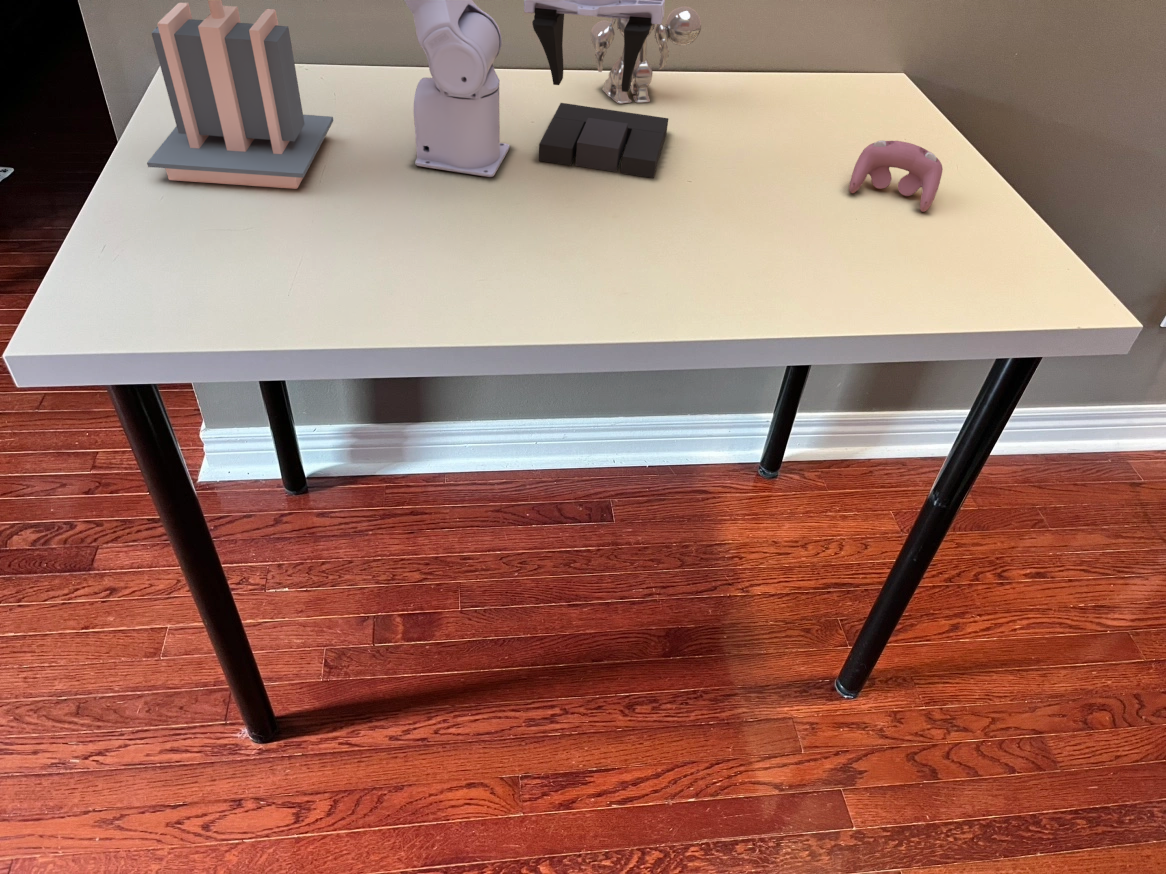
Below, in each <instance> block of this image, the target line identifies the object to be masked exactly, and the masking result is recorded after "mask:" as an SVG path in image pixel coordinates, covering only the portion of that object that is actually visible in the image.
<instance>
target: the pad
mask: <svg viewBox="0 0 1166 874" xmlns="http://www.w3.org/2000/svg"><path fill="white" fill-rule="evenodd" d="M627 129H628V123H621V122H614V121H608V120H601V119H594V118H588V119H587V122H586V124H585V126H584V128H583V130H582V133H581V135H580V137H579V139H578V141H577V149H576V156H575V167H580V168H587V169H592V170H600V171H606V172H607V171H608V172H613V173H617V172H618V169H619V167H620V163H621V162H622V156H623V153H624V150H625V147H626V139H627Z"/></svg>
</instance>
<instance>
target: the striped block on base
mask: <svg viewBox="0 0 1166 874" xmlns="http://www.w3.org/2000/svg"><path fill="white" fill-rule="evenodd" d="M207 3H208V8H209V14H208V15H207V16H205V19H195V18H193V15H192V11H191V8H190V3H189V2H178V3H177V4H176V5H175V6H173V8H171V10H169V12H167V13H166V14H165V15H164V16H163V17H162V18H161V19H160V20H159V21H158V22H157V24H156V25H157V27H155V28H154V29H153V30H152V31H151V33H150V34H151V37H152V41H153V44H154V48H155V51H156V55H157V59H158V63H159V66H160V70H161V72H162V73H161V74H162V76H163V81H164V84H165V89H166V92H167V96H168V100H169V104H170V107H171V110H172V114H173V119H174V122H175V127H174V129H172V131H171V132H170V134H169V135H168V136H167V137H166V139H165V140H164V141H163V142H162V143H161V144H160V146H159V147H158V148H157V149H156V151H155V152H154V153H153V154H152V156H151V157H150V158H149V160H148V161H147V162H146V164H147V168H157V169H165V171H166V175H167V178H168V181H175V182H177V181H178V182H191V183H193V182H194V183H208V184H222V185H233V186H234V185H237V186H249V187H251V186H252V187H264V188H278V189H279V188H280V189H294V190H297V189H298V188H299V187H300V185H301V182H302V181H303V179H304V178H305V176H306V174H307V173H308V170H309V169H310V166H311V165H312V163H313V161H314V159H315V157H316V155H317V153H318V151H319V150H320V147H321V146H322V144H323V142H324V140H325V138H326V136H327V134H328V132H329V130H330V128H331V127H332V125H333V123H334V116H330V115H329V116H328V115H315V114H304V113H303V106H302V105H303V104H302V100H301V95H300V88H299V82H298V75H297V70H296V65H295V58H294V57H295V56H294V53H293V45H292V40H291V34H290V28H289V26H288V25H279V22H278V16H277V11H276V9H273V8H265V10H264V11H263V12H262V14H260V16H259V17H258V19H256V20H255V22H254V23H248V22H241V18H240V17H241V16H240V12H239V6H232V5H224V4H223V0H207Z"/></svg>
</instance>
